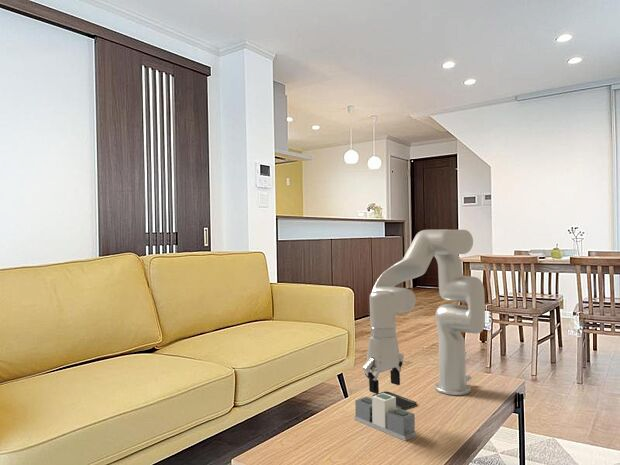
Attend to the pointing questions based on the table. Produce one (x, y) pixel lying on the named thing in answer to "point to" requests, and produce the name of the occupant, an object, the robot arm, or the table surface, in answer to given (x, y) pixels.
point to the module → (382, 408)
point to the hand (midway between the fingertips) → (385, 388)
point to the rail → (397, 419)
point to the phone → (401, 401)
